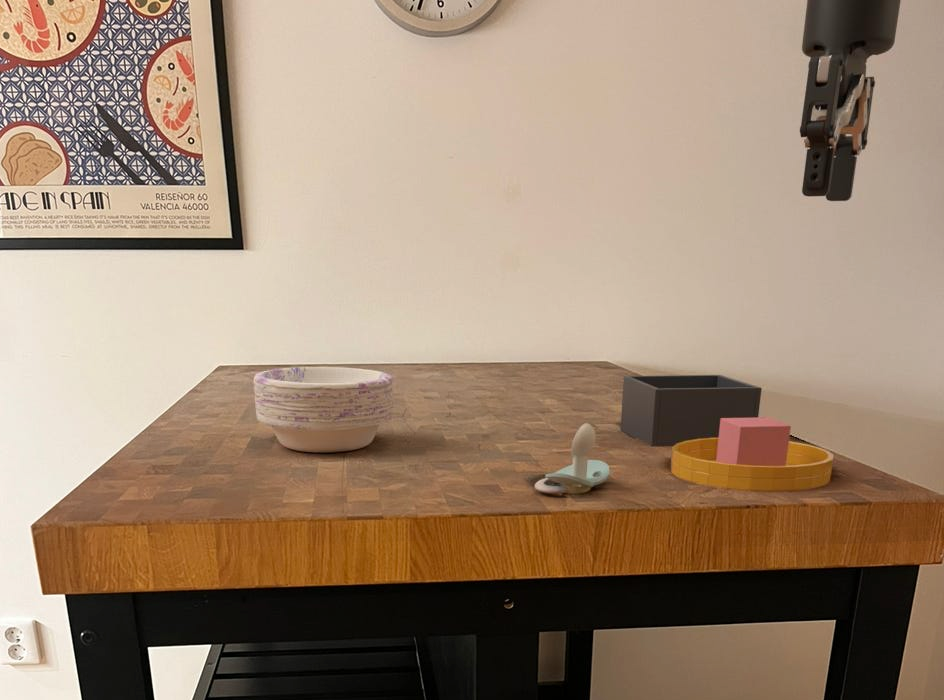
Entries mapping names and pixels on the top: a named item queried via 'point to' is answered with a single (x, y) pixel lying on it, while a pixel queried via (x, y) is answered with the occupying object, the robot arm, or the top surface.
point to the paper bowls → (323, 406)
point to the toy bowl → (751, 468)
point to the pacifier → (577, 467)
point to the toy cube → (753, 441)
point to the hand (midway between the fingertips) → (827, 198)
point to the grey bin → (683, 406)
